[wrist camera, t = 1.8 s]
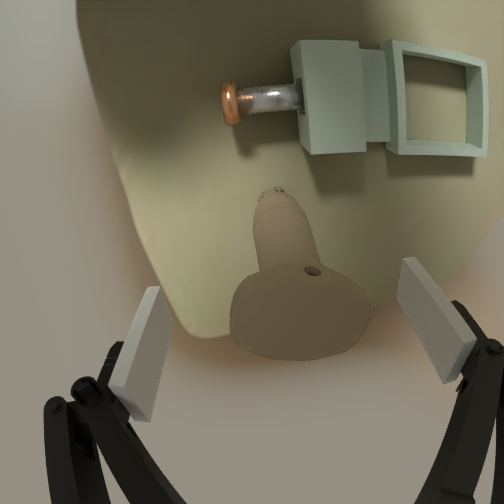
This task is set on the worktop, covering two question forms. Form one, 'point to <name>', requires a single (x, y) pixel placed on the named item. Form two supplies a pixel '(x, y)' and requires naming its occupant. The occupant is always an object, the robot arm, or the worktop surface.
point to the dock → (376, 98)
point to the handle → (294, 291)
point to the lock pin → (259, 100)
